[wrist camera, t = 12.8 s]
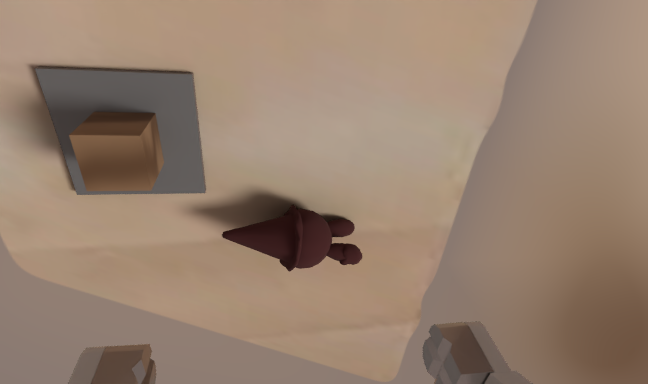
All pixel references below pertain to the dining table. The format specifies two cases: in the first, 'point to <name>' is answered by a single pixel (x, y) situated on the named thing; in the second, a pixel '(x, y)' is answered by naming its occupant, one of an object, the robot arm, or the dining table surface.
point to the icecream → (298, 239)
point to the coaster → (135, 97)
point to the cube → (118, 151)
